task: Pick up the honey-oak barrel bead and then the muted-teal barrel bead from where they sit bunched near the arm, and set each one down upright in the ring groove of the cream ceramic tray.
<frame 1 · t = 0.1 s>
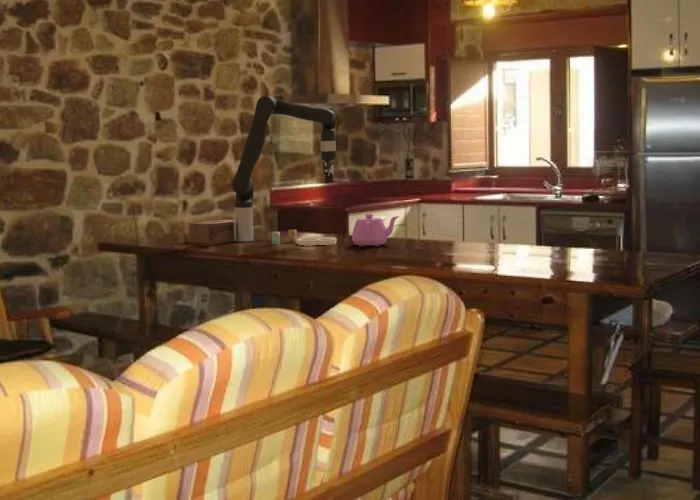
hand: (329, 182, 469), 29 cm above the table, fingers open, 8 cm apart
teapot: (371, 245, 448), on the table
bead teal: (276, 244, 461), on the table
tissue box cover: (217, 241, 485), on the table
bead oak: (292, 242, 469), on the table
tray: (316, 243, 459), on the table
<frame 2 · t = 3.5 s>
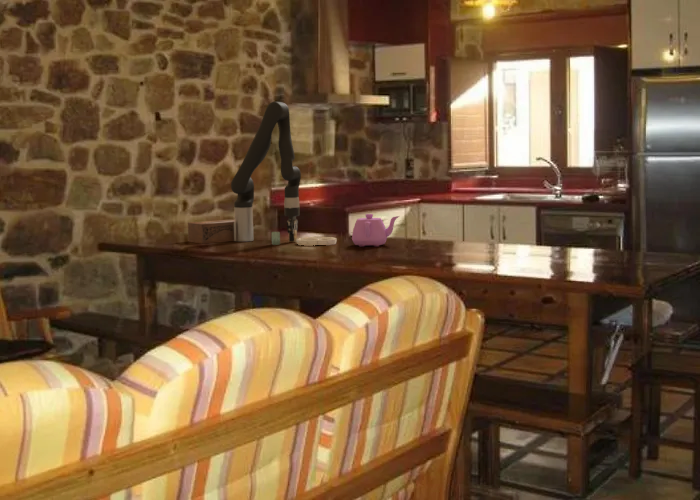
hand: (292, 240, 469), 1 cm above the table, fingers closed on bead oak, 4 cm apart
bead oak: (292, 242, 469), on the table, touching gripper
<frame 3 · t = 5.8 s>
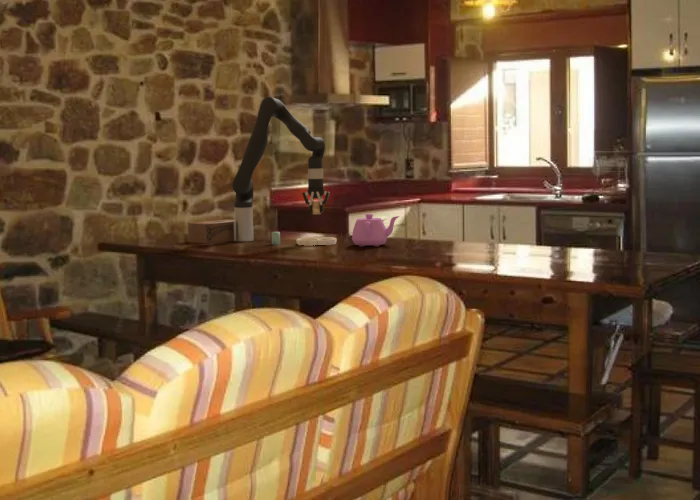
hand: (316, 212, 462), 15 cm above the table, fingers closed on bead oak, 4 cm apart
bead oak: (316, 214, 462), point 14 cm above the table, touching gripper
when the fingers open (3 cm above the table, at t = 8.2 s): bead oak drops 1 cm, resting on tray.
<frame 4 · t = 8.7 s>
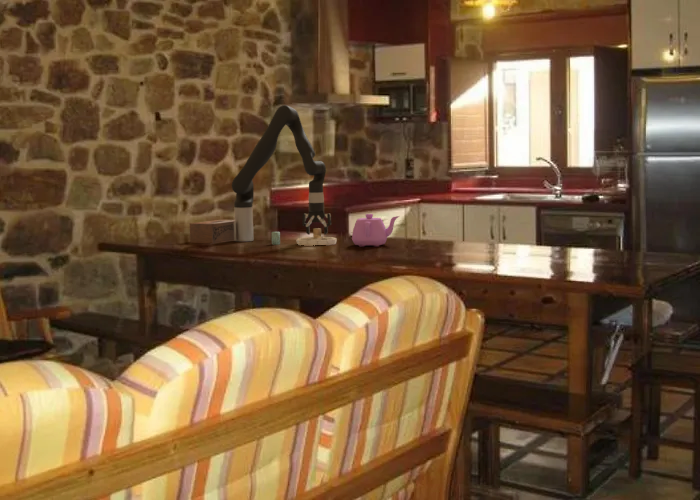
hand: (317, 234, 464), 4 cm above the table, fingers open, 8 cm apart
bead oak: (317, 240, 464), point 1 cm above the table, touching tray
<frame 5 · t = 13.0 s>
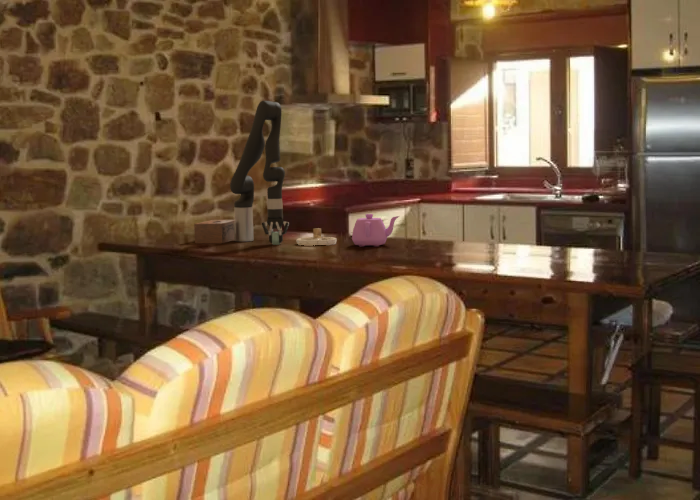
hand: (276, 242, 460), 1 cm above the table, fingers closed on bead teal, 4 cm apart
bead teal: (276, 244, 460), on the table, touching gripper
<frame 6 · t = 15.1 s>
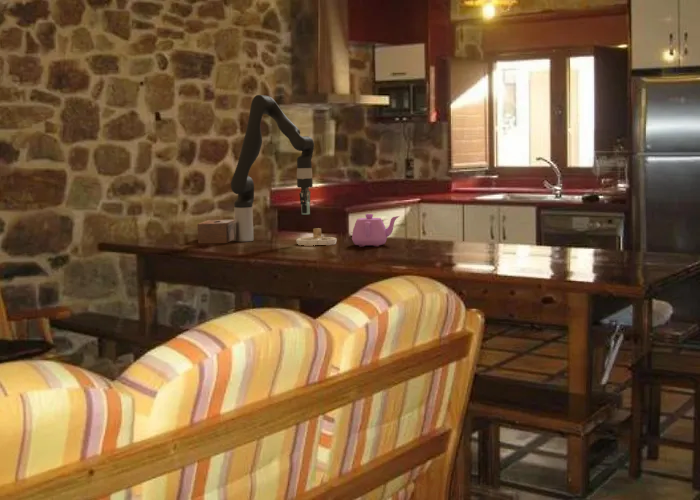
hand: (305, 212, 458), 15 cm above the table, fingers closed on bead teal, 4 cm apart
bead teal: (305, 214, 458), point 15 cm above the table, touching gripper
when the fingers open (3 cm above the table, at t = 17.6 s): bead teal drops 1 cm, resting on tray.
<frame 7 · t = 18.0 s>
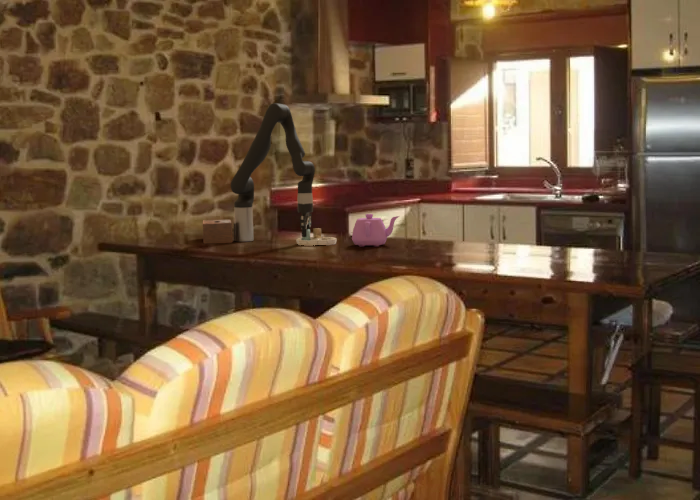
hand: (306, 236, 459), 4 cm above the table, fingers open, 7 cm apart
bead teal: (306, 241, 460), point 1 cm above the table, touching tray
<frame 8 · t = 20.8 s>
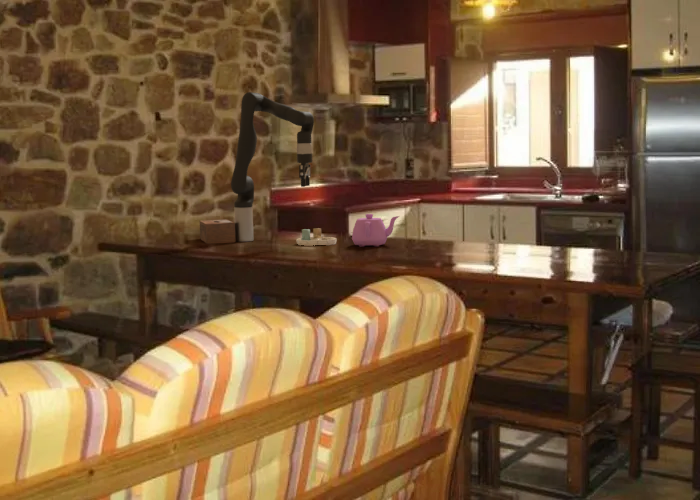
hand: (305, 186, 458), 28 cm above the table, fingers open, 8 cm apart
at the end: bead teal 0.1 cm from the target spot on the tray, point 1.0 cm above the tray's base; bead oak 0.2 cm from the target spot on the tray, point 1.0 cm above the tray's base; bead teal tilted 0° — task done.
